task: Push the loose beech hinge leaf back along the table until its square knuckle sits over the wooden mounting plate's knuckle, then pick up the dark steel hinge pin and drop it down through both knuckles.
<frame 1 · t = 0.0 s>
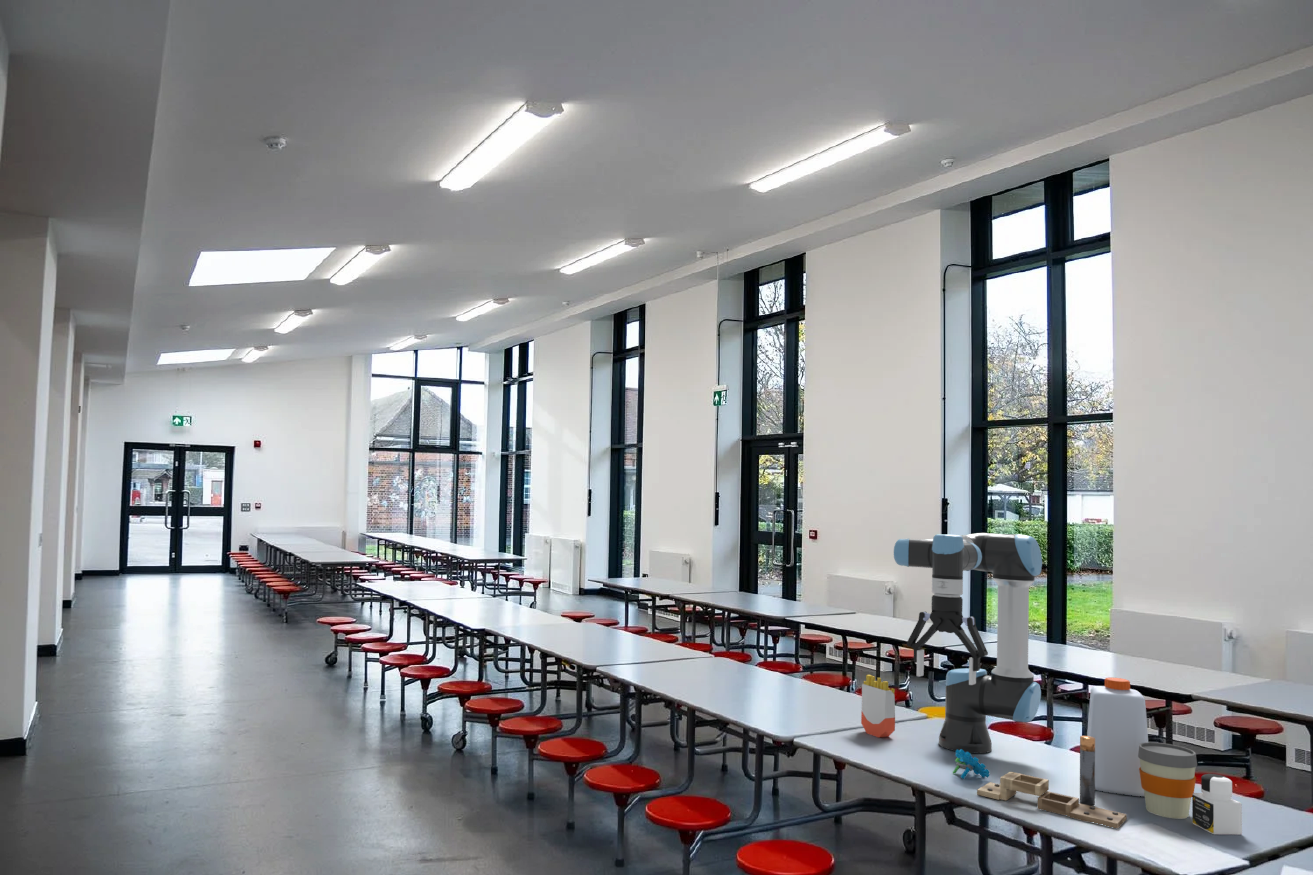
hand: (945, 679, 228), 28 cm above the table, tool pointing down, fingers open, 13 cm apart
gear: (970, 778, 240), on the table
medicine bottle: (1216, 830, 207), on the table
wooden mounting plate: (1058, 808, 217), on the table
plastic bottle: (1117, 787, 237), on the table
leaf b: (1013, 786, 224), point 3 cm above the table, slide at 7.0 cm
french fries container: (877, 735, 282), on the table
reusable coffee cup: (1167, 812, 218), on the table
pin: (1087, 803, 222), on the table
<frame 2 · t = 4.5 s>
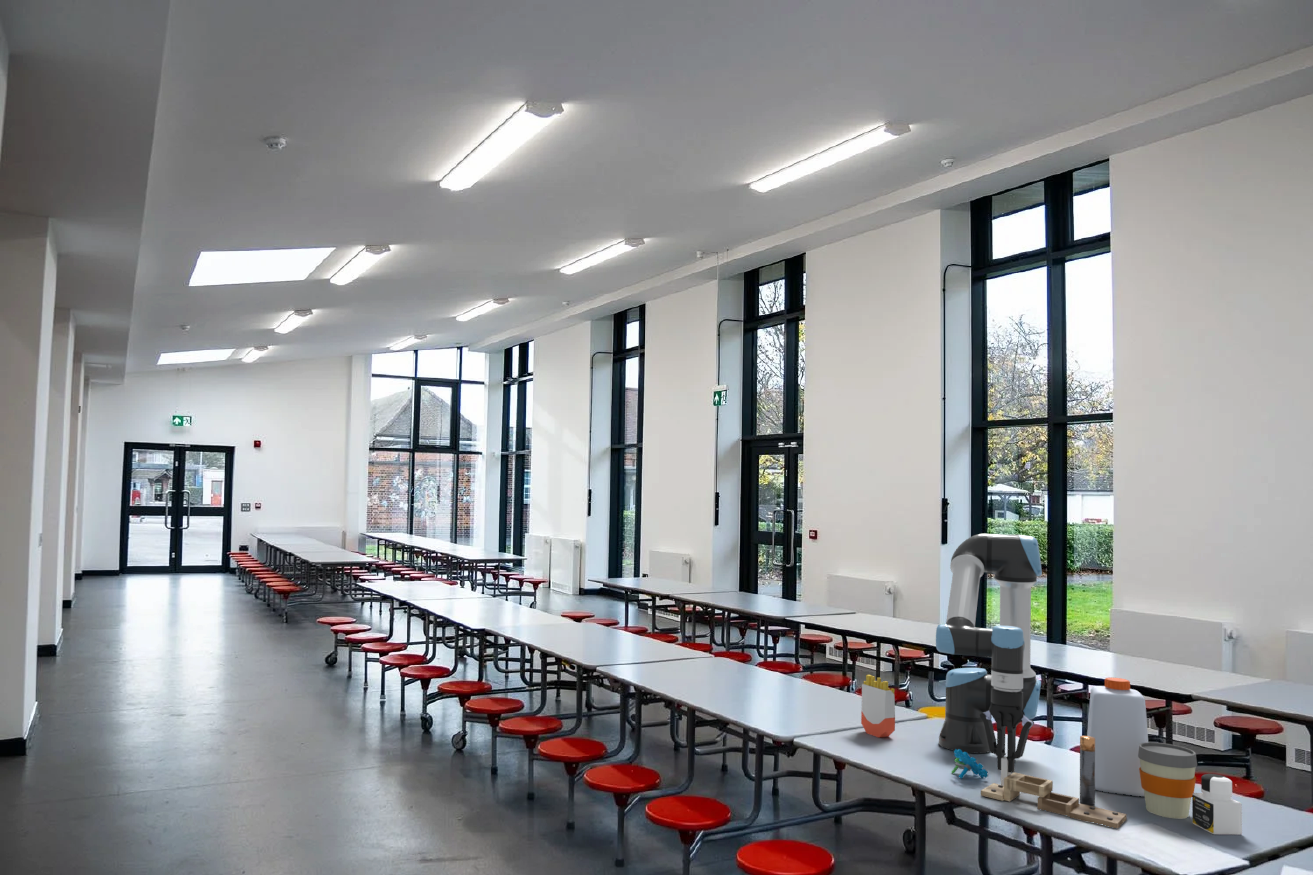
hand: (1005, 784, 225), 3 cm above the table, tool pointing down, fingers closed
leaf b: (1017, 787, 223), point 3 cm above the table, slide at 6.1 cm, touching gripper
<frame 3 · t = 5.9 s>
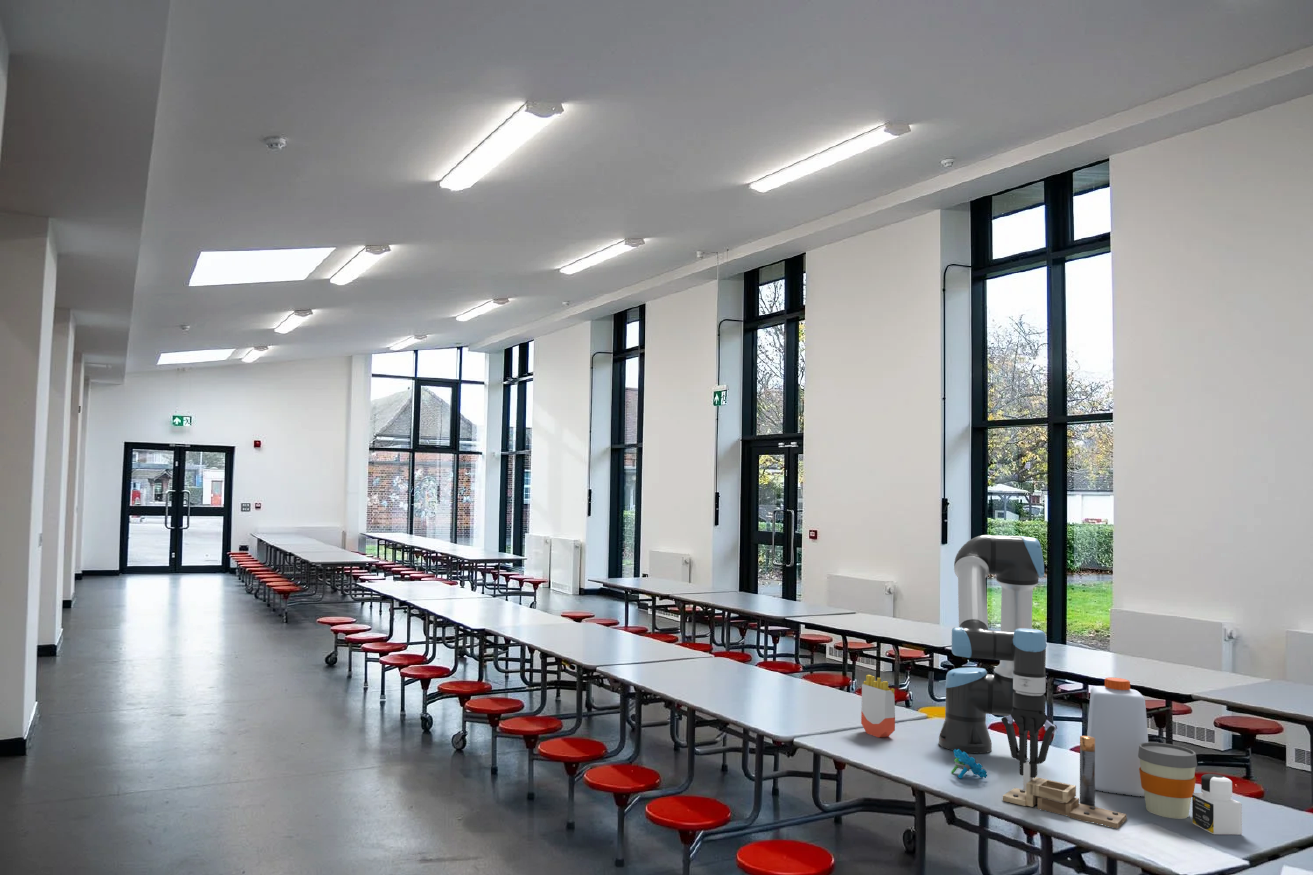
hand: (1028, 789, 221), 3 cm above the table, tool pointing down, fingers closed
leaf b: (1039, 792, 220), point 3 cm above the table, slide at 0.7 cm, touching gripper
everything else where it was.
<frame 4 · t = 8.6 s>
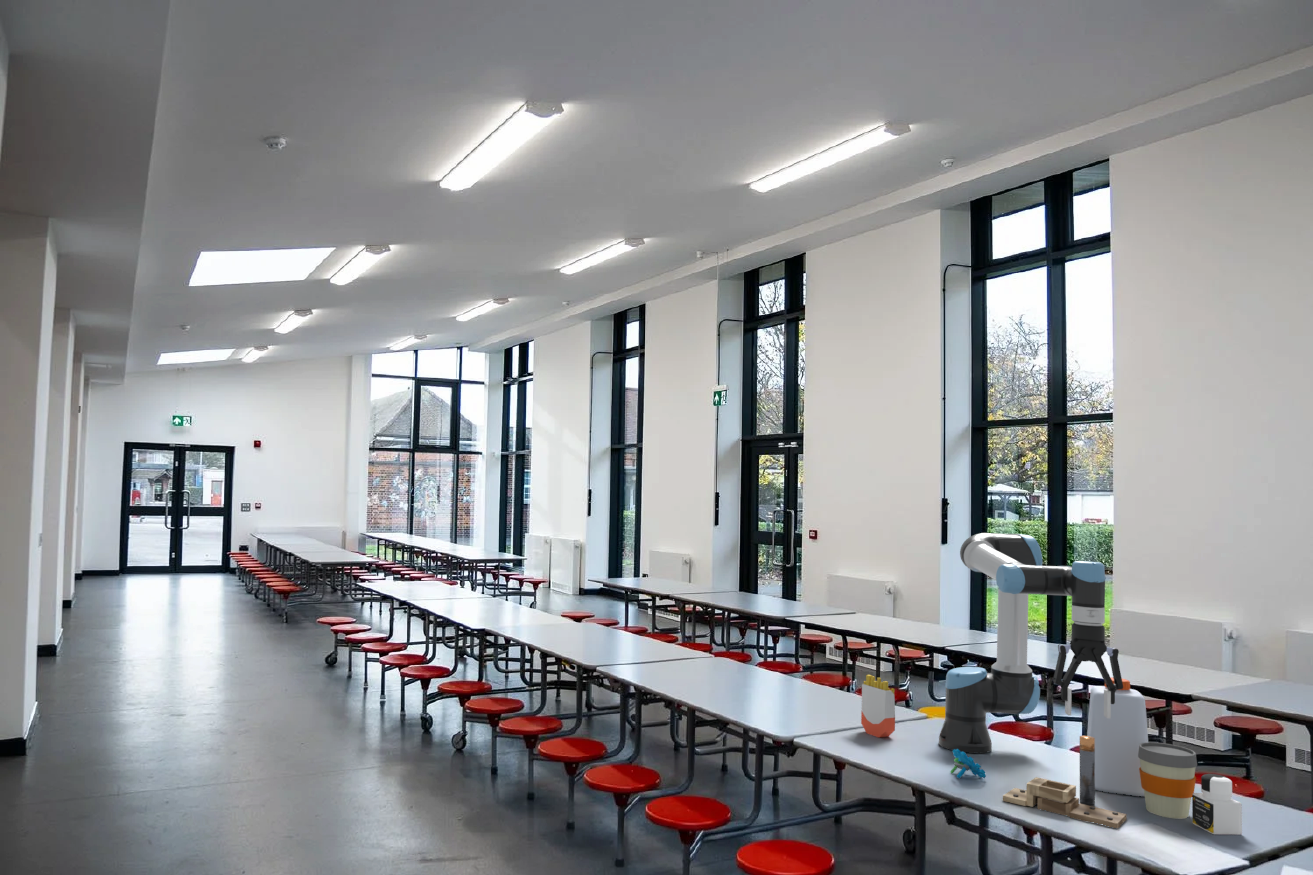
hand: (1087, 715, 223), 21 cm above the table, tool pointing down, fingers open, 8 cm apart
leaf b: (1039, 792, 220), point 3 cm above the table, slide at 0.7 cm
everything else where it was.
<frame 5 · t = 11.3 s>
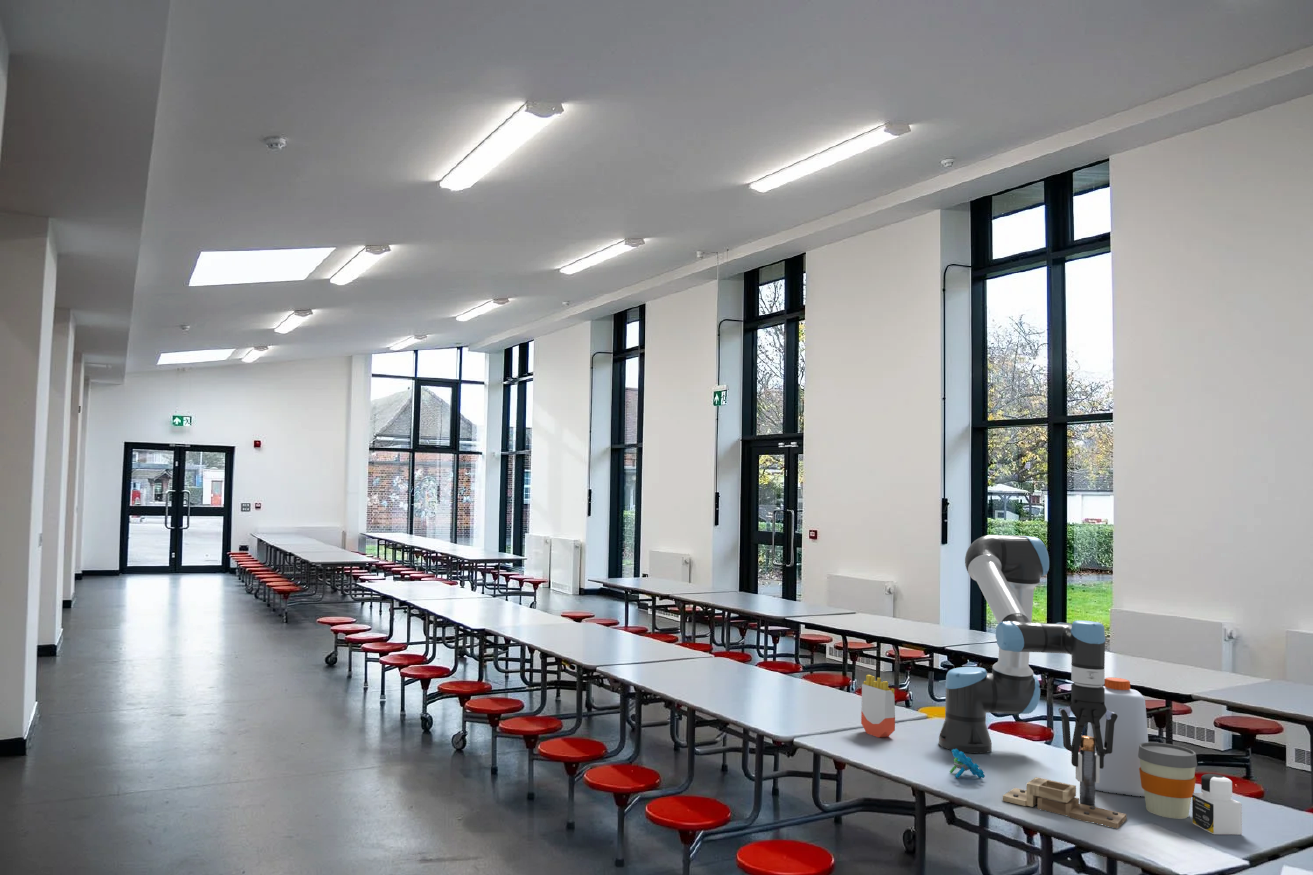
hand: (1087, 780, 222), 6 cm above the table, tool pointing down, fingers closed on pin, 3 cm apart
pin: (1087, 803, 222), on the table, touching gripper
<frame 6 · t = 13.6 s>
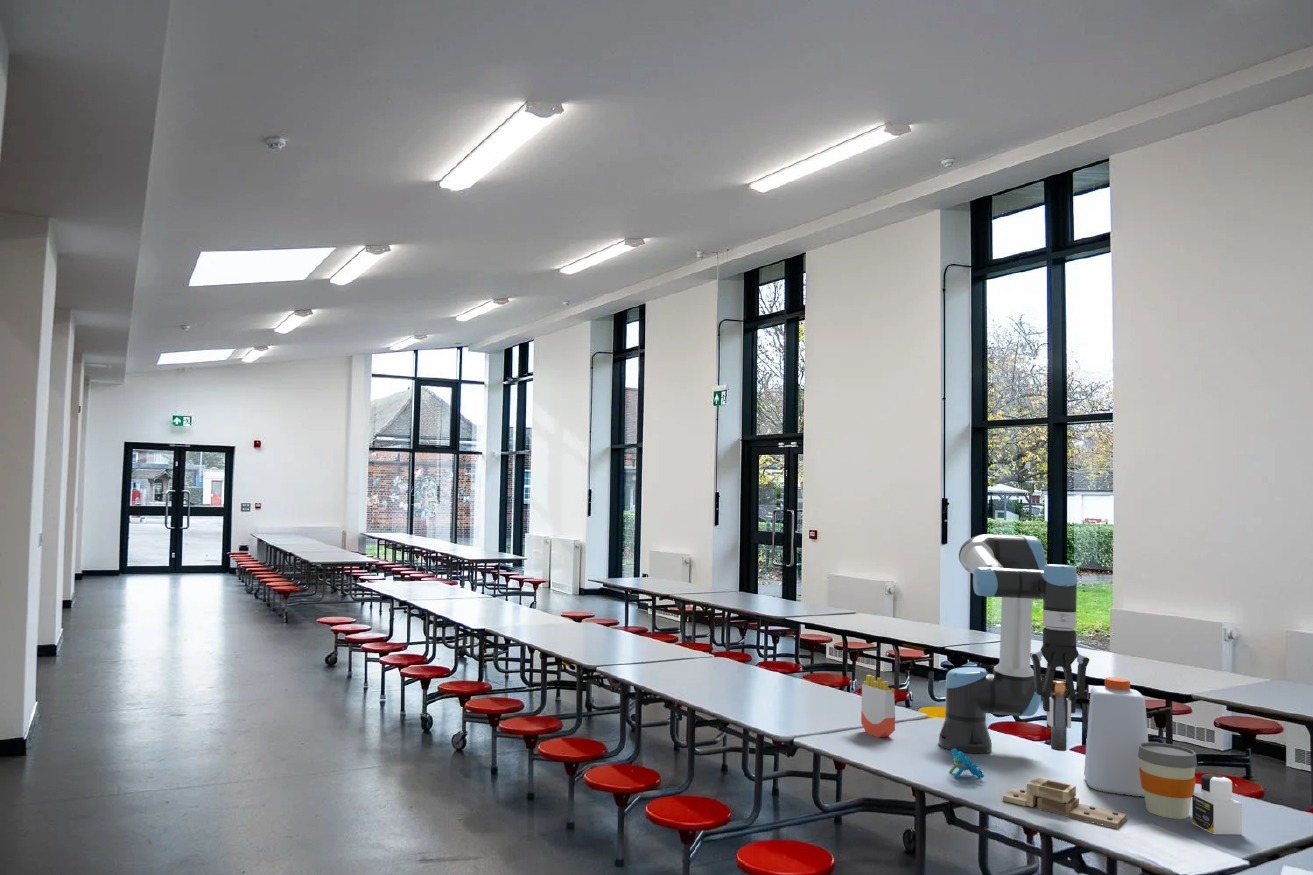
hand: (1058, 725, 218), 20 cm above the table, tool pointing down, fingers closed on pin, 3 cm apart
pin: (1058, 749, 218), point 14 cm above the table, touching gripper
when the fingers open (8 cm above the table, at t = 16.3 s): pin drops 2 cm, resting in wooden mounting plate.
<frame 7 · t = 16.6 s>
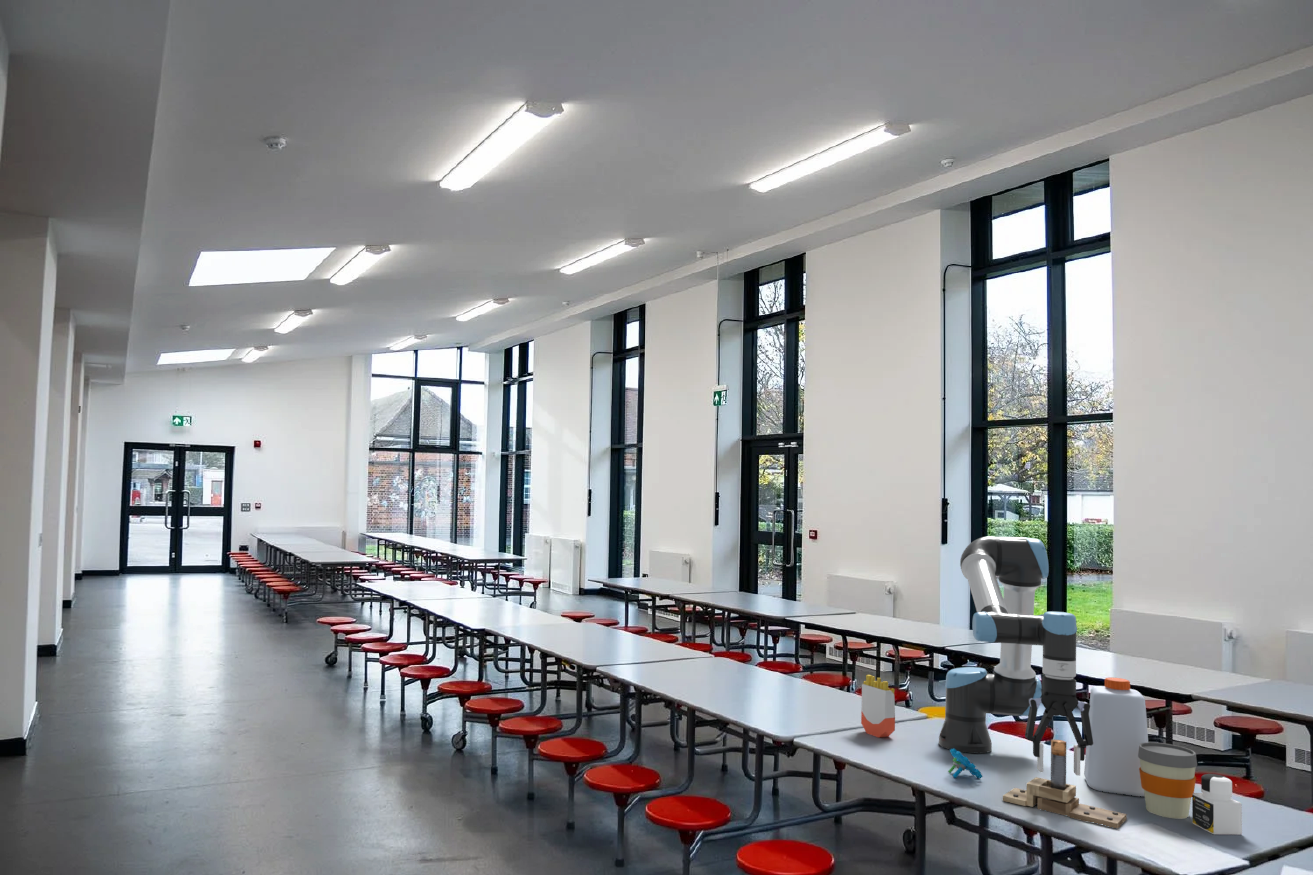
hand: (1058, 772, 217), 9 cm above the table, tool pointing down, fingers open, 8 cm apart
pin: (1057, 808, 217), resting in wooden mounting plate
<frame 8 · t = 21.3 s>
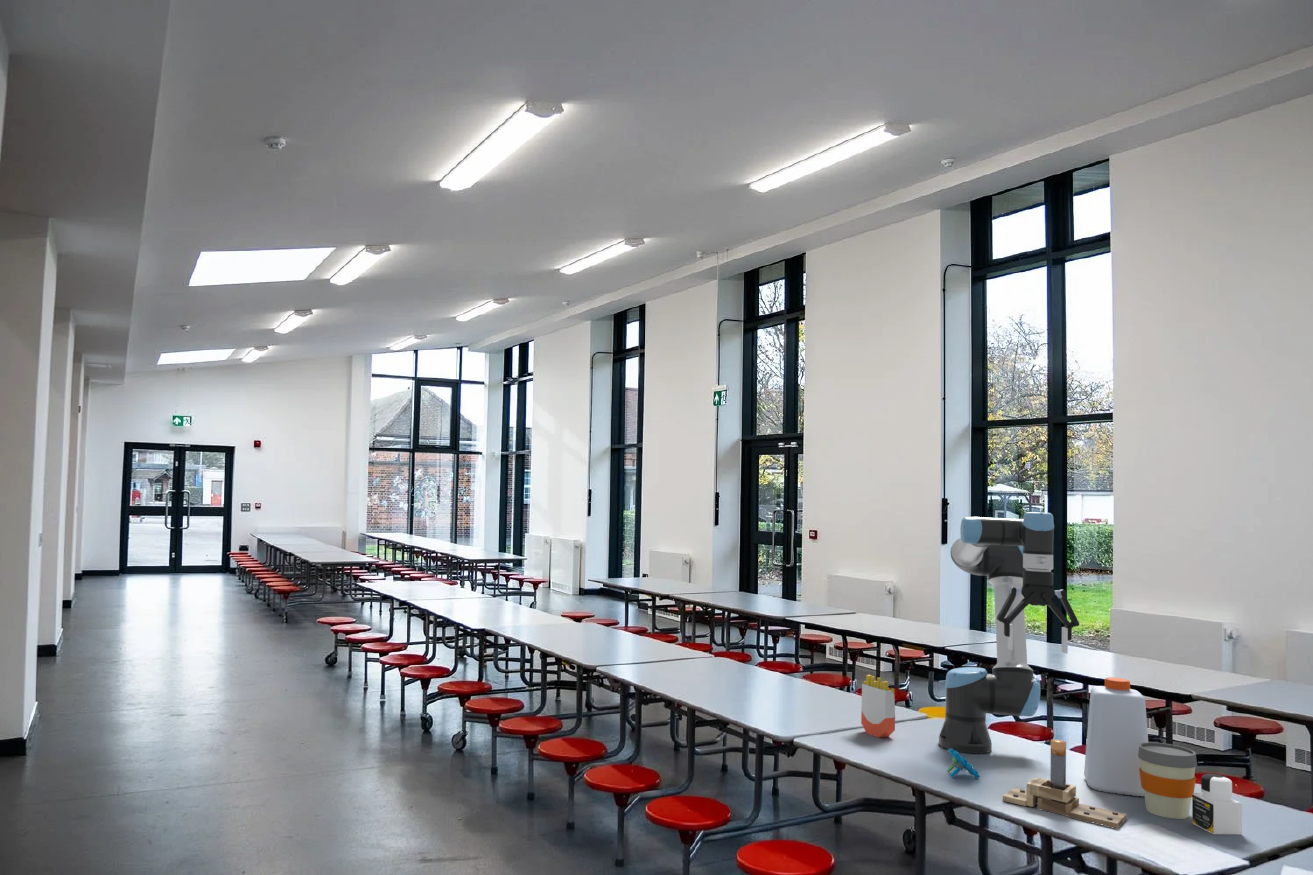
hand: (1037, 651, 238), 35 cm above the table, tool pointing down, fingers open, 13 cm apart
at the end: leaf b slide at 0.7 cm; pin 0.1 cm off-centre on the wooden mounting plate, point 0.0 cm above the wooden mounting plate's base; the gripper is holding nothing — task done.
